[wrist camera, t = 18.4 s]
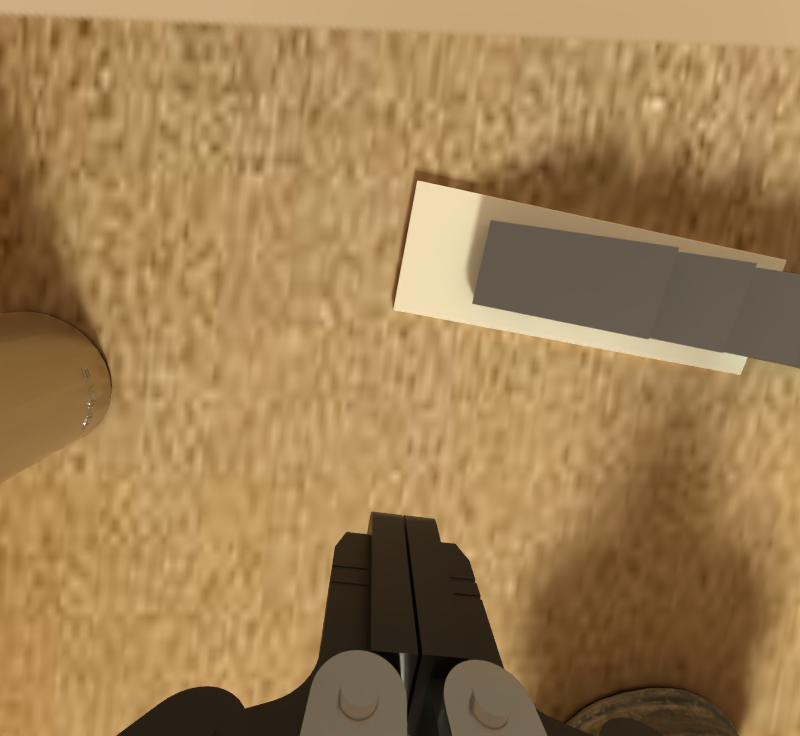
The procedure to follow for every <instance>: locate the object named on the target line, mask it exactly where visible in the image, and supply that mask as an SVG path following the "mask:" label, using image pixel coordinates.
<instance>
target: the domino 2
mask: <svg viewBox="0 0 800 736" xmlns="http://www.w3.org/2000/svg"><path fill="white" fill-rule="evenodd" d="M756 265H757V263H753V262H746V261H739V260H733V259H726V258H719V257H712V256H705V255H699V254H692V253H685V252H677V255H676V258H675V261H674V264H673V267H672V270H671V273H670V276H669V279H668V282H667V285H666V288H665V291H664V294H663V297H662V300H661V303H660V306H659V309H658V312H657V315H656V318H655V321H654V324H653V327H652V330H651V333H650V336H649V338H651V339H655V340H660V341H665V342H670V343H675V344H680V345H685V346H690V347H695V348H700V349H705V350H710V351H715V352H720V353H723V352H724V349H725V346H726V344H727V341H728V339H729V336H730V333H731V331H732V328H733V325H734V323H735V320H736V318H737V315H738V312H739V310H740V307H741V304H742V302H743V299H744V297H745V294H746V291H747V289H748V286H749V283H750V281H751V278H752V276H753V273H754V270H755V268H756Z"/></svg>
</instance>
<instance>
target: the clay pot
mask: <svg viewBox="0 0 800 736" xmlns="http://www.w3.org/2000/svg"><path fill="white" fill-rule="evenodd" d="M617 717H621V718H630V719H634V720H637V721H639V722H642V723H644V724H646V725H648V726H650V727H652V728H653V729H655V730H656V731H658V732H660V733H661V734H662V735H663V736H738V735H737V732H736V730H735V728H734V725H733V724H732V723H731V721H730V720H729V719H728V717H727V716H726V715H725V714H724V713H723V712H722V711H721V710H720V709H719V708H718V707H716V706H715V705H714V704H713V703H712V702H710V701H708V700H707V699H705V698H703V697H701V696H698V695H696V694H693V693H690V692H687V691H685V690H681V689H673V688H647V689H641V690H635V691H630V692H624V693H621V694H618V695H615V696H611V697H608V698H605V699H601V700H599V701H597V702H595V703H593V704H591V705H589V706H587V707H585V708H584V709H582V710H581V711H580V712H579V713H578V714H576V715H575V716H574V717H573V718H571V719H570V720H569V721H568V722H566V723H565V724H567V725H569V726H571V727H574V728H576V729H579V730H581V731H584V732H586V733H588V734H591V735H593V736H598V734H599V732H600V729H601V727H602V726H603V725H604V723H605V722H607V721H608V720H610V719H613V718H617Z"/></svg>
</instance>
